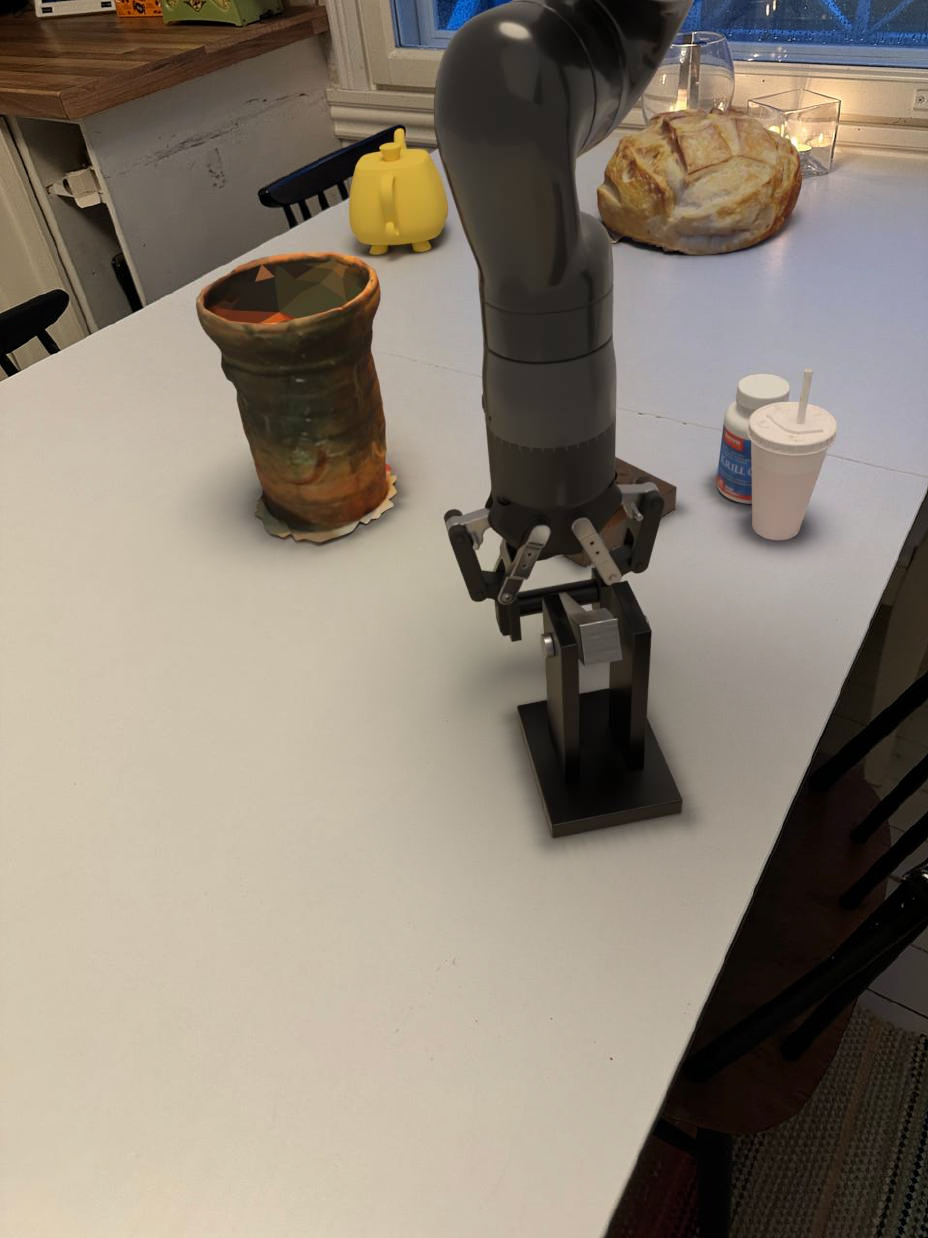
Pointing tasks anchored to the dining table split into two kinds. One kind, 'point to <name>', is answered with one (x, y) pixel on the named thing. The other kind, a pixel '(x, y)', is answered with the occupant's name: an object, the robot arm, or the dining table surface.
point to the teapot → (397, 198)
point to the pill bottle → (744, 433)
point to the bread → (700, 182)
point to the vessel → (305, 387)
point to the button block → (616, 524)
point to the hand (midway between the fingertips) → (557, 624)
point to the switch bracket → (597, 729)
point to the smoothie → (787, 461)
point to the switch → (581, 619)
